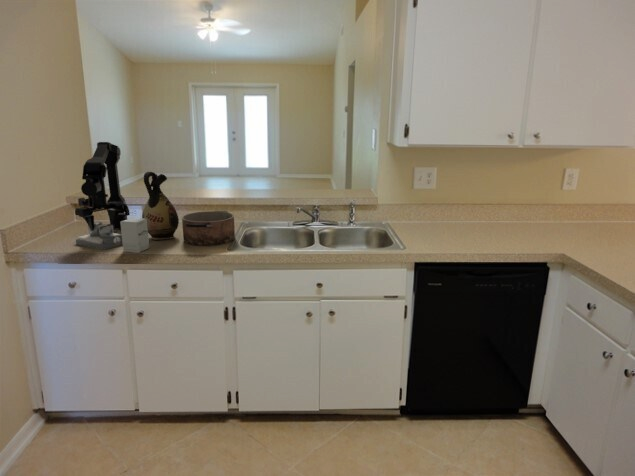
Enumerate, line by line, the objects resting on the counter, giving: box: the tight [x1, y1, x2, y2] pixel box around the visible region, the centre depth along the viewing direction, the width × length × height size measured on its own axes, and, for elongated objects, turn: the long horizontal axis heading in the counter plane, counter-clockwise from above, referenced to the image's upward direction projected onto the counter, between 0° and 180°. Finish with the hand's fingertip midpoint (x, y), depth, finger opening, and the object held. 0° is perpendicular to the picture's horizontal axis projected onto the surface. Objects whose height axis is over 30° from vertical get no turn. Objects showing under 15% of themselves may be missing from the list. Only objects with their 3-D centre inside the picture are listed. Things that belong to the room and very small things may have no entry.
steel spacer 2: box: [98, 223, 115, 239], centre depth 178 cm, size 6×6×5 cm
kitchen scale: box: [75, 232, 123, 251], centre depth 179 cm, size 14×17×4 cm
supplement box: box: [120, 217, 150, 254], centre depth 169 cm, size 7×7×13 cm
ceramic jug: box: [141, 171, 180, 241], centre depth 185 cm, size 17×15×30 cm
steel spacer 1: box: [87, 221, 103, 237], centre depth 180 cm, size 6×6×5 cm
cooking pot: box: [181, 210, 236, 247], centre depth 187 cm, size 30×22×11 cm
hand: (102, 228), depth 179 cm, fingers open, 9 cm apart
